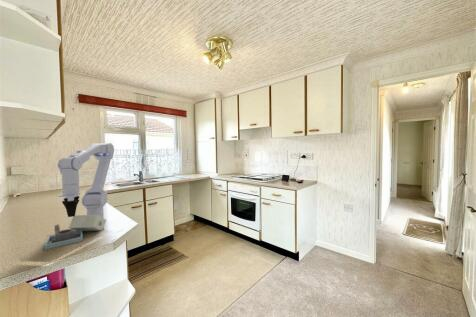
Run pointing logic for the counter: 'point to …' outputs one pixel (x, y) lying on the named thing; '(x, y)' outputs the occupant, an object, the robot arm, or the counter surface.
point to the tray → (62, 241)
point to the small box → (87, 223)
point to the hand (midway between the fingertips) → (71, 214)
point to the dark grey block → (64, 235)
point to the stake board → (57, 229)
